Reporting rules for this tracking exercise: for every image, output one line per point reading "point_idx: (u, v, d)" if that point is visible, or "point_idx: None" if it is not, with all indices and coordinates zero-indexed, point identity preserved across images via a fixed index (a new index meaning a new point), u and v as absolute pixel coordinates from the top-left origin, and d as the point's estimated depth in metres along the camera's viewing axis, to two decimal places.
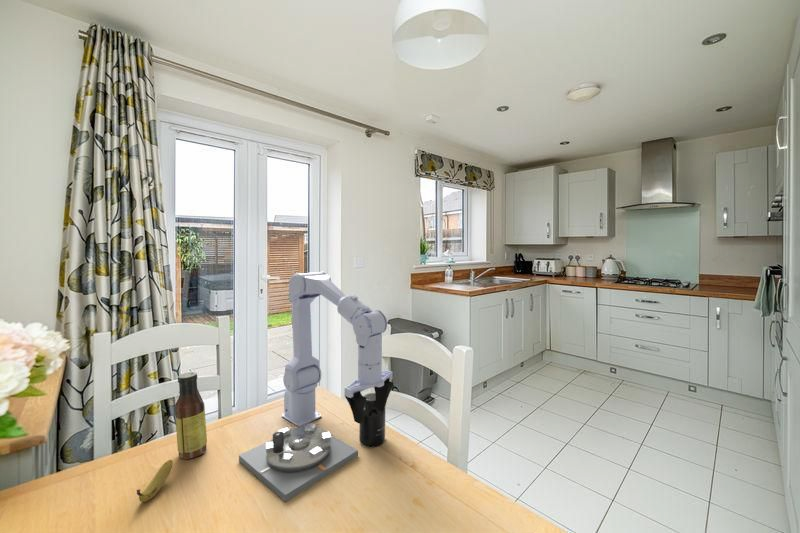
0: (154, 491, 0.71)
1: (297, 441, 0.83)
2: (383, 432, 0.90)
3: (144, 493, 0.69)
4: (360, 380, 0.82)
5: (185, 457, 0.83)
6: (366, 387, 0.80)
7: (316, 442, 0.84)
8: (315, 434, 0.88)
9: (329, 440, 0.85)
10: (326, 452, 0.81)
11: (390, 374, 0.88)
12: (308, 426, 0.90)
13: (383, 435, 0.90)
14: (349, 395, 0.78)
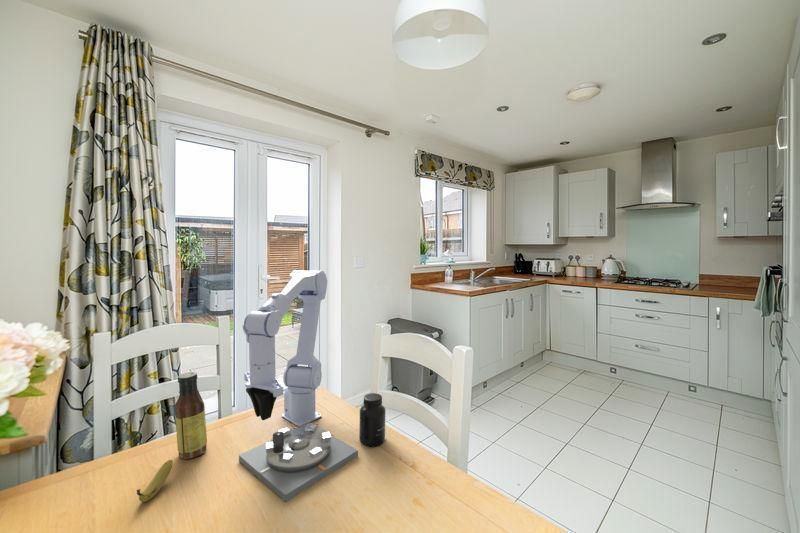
0: (154, 491, 0.71)
1: (297, 441, 0.83)
2: (383, 432, 0.90)
3: (144, 493, 0.69)
4: None
5: (185, 457, 0.83)
6: (247, 380, 0.83)
7: (316, 442, 0.84)
8: (315, 434, 0.88)
9: (329, 440, 0.85)
10: (326, 452, 0.81)
11: (272, 389, 0.78)
12: (308, 426, 0.90)
13: (383, 435, 0.90)
14: None
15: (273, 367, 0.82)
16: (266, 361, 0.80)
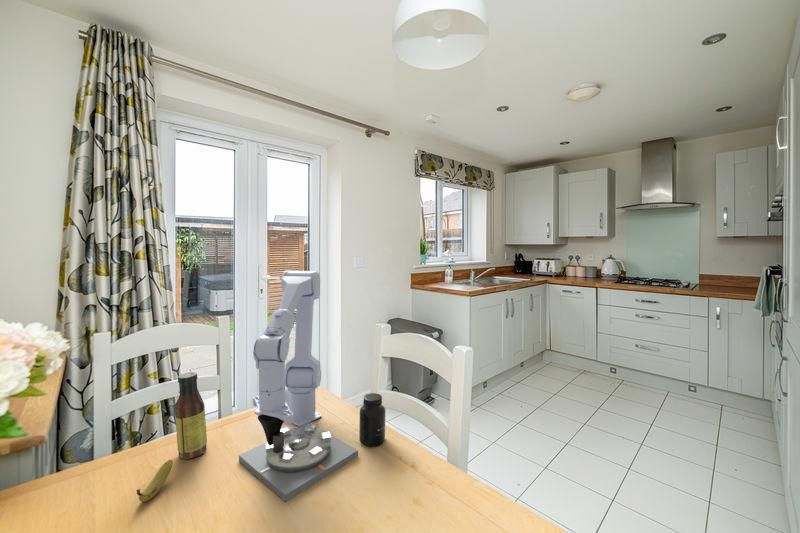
0: (154, 491, 0.71)
1: (297, 441, 0.83)
2: (383, 432, 0.90)
3: (144, 493, 0.69)
4: None
5: (185, 457, 0.83)
6: (257, 406, 0.81)
7: (316, 442, 0.84)
8: (315, 434, 0.88)
9: (329, 440, 0.85)
10: (326, 452, 0.81)
11: (283, 417, 0.75)
12: (308, 426, 0.90)
13: (383, 435, 0.90)
14: None
15: (283, 393, 0.79)
16: (278, 387, 0.78)
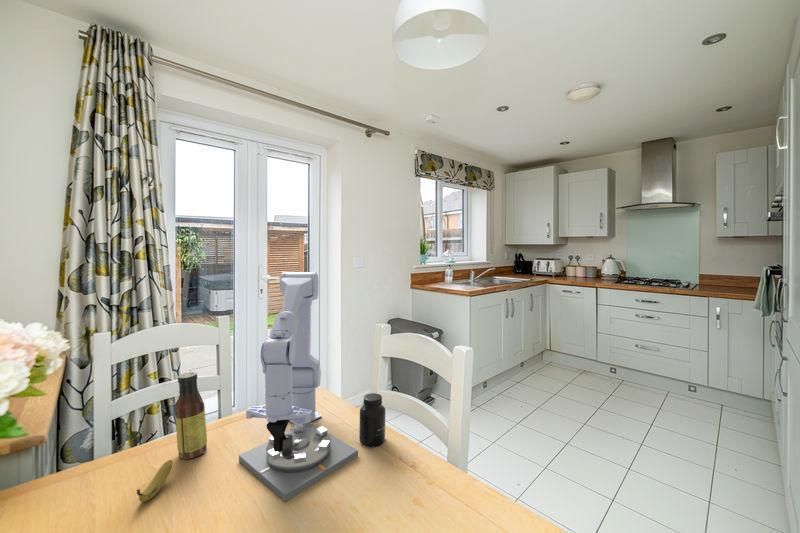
0: (154, 491, 0.71)
1: (298, 441, 0.83)
2: (383, 432, 0.90)
3: (144, 493, 0.69)
4: None
5: (185, 457, 0.83)
6: (261, 415, 0.76)
7: (315, 438, 0.86)
8: (307, 432, 0.89)
9: (326, 433, 0.88)
10: (330, 443, 0.85)
11: (304, 416, 0.76)
12: (296, 427, 0.89)
13: (383, 435, 0.90)
14: None
15: None
16: (286, 391, 0.76)
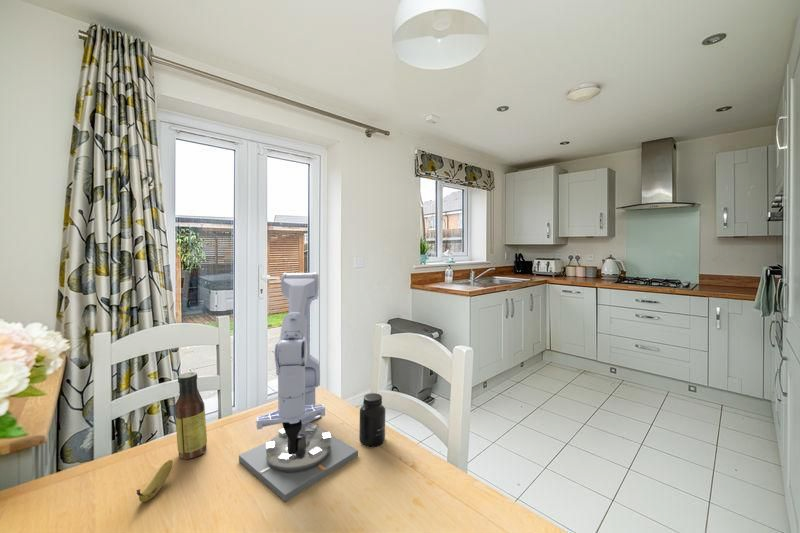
0: (154, 491, 0.71)
1: None
2: (383, 432, 0.90)
3: (144, 493, 0.69)
4: (278, 411, 0.76)
5: (185, 457, 0.83)
6: (277, 421, 0.74)
7: (309, 435, 0.88)
8: None
9: (316, 428, 0.90)
10: None
11: (321, 410, 0.79)
12: (283, 431, 0.87)
13: (383, 435, 0.90)
14: (257, 426, 0.73)
15: None
16: (301, 392, 0.75)
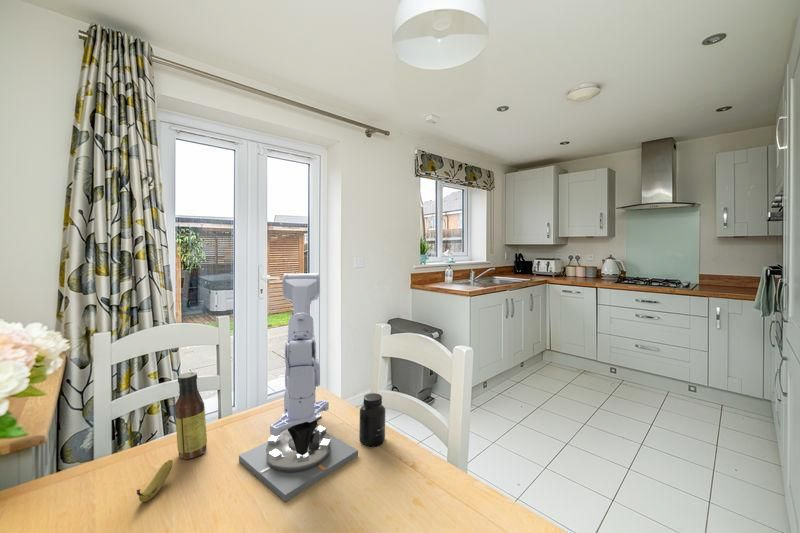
0: (154, 491, 0.71)
1: None
2: (383, 432, 0.90)
3: (144, 493, 0.69)
4: (289, 415, 0.75)
5: (185, 457, 0.83)
6: (295, 423, 0.73)
7: None
8: (285, 437, 0.86)
9: None
10: None
11: (326, 404, 0.81)
12: (274, 438, 0.84)
13: (383, 435, 0.90)
14: (275, 434, 0.71)
15: None
16: (311, 392, 0.75)
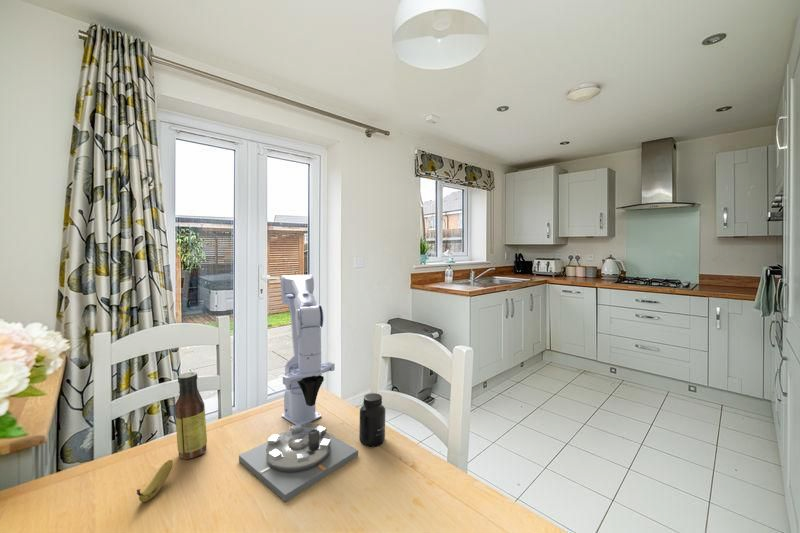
0: (154, 491, 0.71)
1: (301, 440, 0.84)
2: (383, 432, 0.90)
3: (144, 493, 0.69)
4: (299, 370, 0.87)
5: (185, 457, 0.83)
6: (304, 376, 0.86)
7: None
8: (285, 437, 0.86)
9: (300, 427, 0.91)
10: None
11: (332, 365, 0.94)
12: (274, 438, 0.84)
13: (383, 435, 0.90)
14: (286, 383, 0.83)
15: None
16: (319, 350, 0.88)
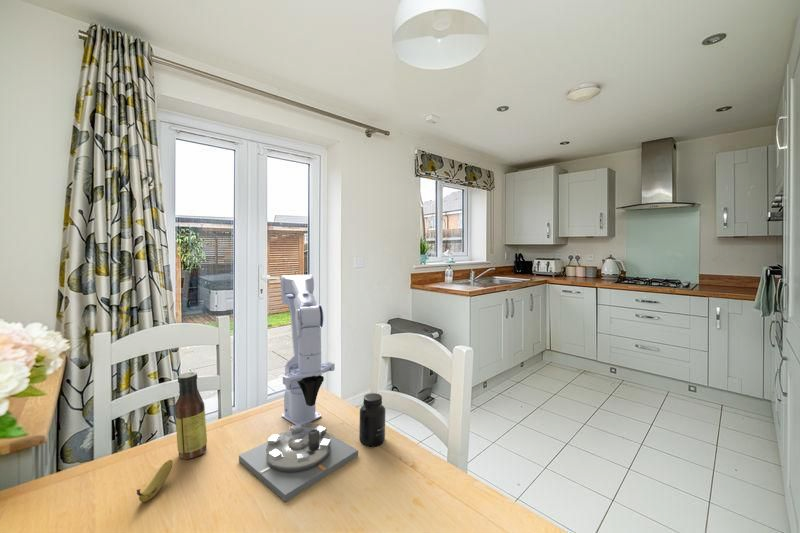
0: (154, 491, 0.71)
1: (301, 440, 0.84)
2: (383, 432, 0.90)
3: (144, 493, 0.69)
4: (299, 370, 0.87)
5: (185, 457, 0.83)
6: (304, 376, 0.86)
7: None
8: (285, 437, 0.86)
9: (300, 427, 0.91)
10: None
11: (332, 365, 0.94)
12: (274, 438, 0.84)
13: (383, 435, 0.90)
14: (286, 383, 0.83)
15: None
16: (319, 350, 0.88)
